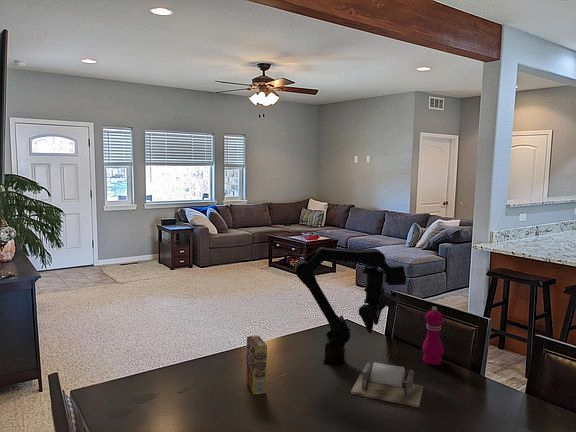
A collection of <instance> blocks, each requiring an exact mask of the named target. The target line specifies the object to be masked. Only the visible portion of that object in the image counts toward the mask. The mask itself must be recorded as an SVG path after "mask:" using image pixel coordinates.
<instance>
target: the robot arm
mask: <svg viewBox="0 0 576 432" xmlns="http://www.w3.org/2000/svg"><path fill="white" fill-rule="evenodd" d="M325 261H332V262H334V261H335V262H348V263H358V264H362V265H364V266H363V267H362V268H361V269H360V271H361V273H362V274H366V280H365V286H366V287H365V288H364V292H365V299H364V301H363V302H364V304H362V305H361V306H360V308H359V309H358V315H359V316H360V318H361V319H362V321H363V323H364V325H365V328H366V330H367V332H368V333H369V334H372V333H373V328H374V325H376V326H378V325H379V324H378V323H379V321H380V317H381V313H382V310H383V309H385V308H386V307H387V308H389V309H390V310H392V311H395V310H396V308H397V306H398V304H399V302H400V297H399V295H398V292H397V291H392V292H391V293H389V292H386V291H385V290H386V289H385V287H384V286H383V285H384V283H386V284H387V286H405V285H406V282H407V277H406V272H405V267H404V266H403V265H389V264H388V263H387V262H386V256H385V254H384V253H383V252H381V251H380V250H379V249H378V248H366V249H365V248H364V249H358V250H354V249H344V248H343V249H341V248H330V247H323V246H321V247H318V248H317V249H316V250H314V252H312V253H310V254H309V255H307V256H306V257H304V258H303V259H299V260H297V261H296V263H295V266H294V270H295V274H296V276H297V278H298V279H299V280H300V281H301V282H302V283H303V285H304V286H306V288H307V289H308V290H309V291H310V293H311V295H312V297H313V299H314V301H315V302H316V304H317V305H318V307H319V309H320V310H321V312H322V314H323V315H324V317H325V319H326V320H327V322H328V326H329V328H330V330H328V332H327V333H326V334H325V338H326V343H325V344H324V360H323V364H326V365H333V366H336V367H337V366H338V367H342V365H343V364H344V363H345V361H346V360H347V359H346V357H347V355H346V354H347V349H346V348H345V345H346V343H348V341H349V340H350V339H351V333H350V331H351V328H350V326H349V324H348V323H347V322H346V320H345V318H344V316H343V314H342V315H340V316H339V315H338V314H336V312H335V310H334V309H333V306H332V305H331V303H330V302H329V300H328V299H327V296H326V295H325V294H324V290H322V288H321V286H320V285H319V283H318V281H317V278H316V275H315V273H314V271H315V270H317V269H318V268H319V267H320V266H321V264H322V263H324V262H325Z"/></svg>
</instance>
